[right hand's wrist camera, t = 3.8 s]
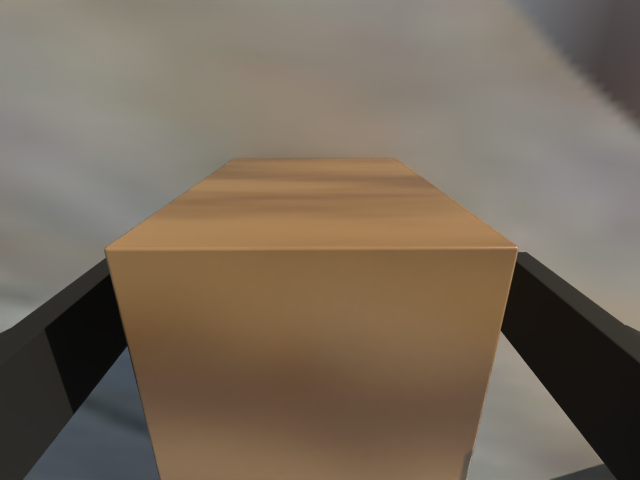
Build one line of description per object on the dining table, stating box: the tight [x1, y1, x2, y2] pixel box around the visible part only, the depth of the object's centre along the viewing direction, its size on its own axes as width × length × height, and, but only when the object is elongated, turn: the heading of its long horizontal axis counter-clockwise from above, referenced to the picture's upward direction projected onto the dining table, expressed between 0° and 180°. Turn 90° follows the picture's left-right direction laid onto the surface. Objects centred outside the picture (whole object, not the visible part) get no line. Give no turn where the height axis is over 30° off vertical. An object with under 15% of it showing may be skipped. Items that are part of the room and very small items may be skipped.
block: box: [105, 159, 518, 480], centre depth 13 cm, size 8×8×11 cm
